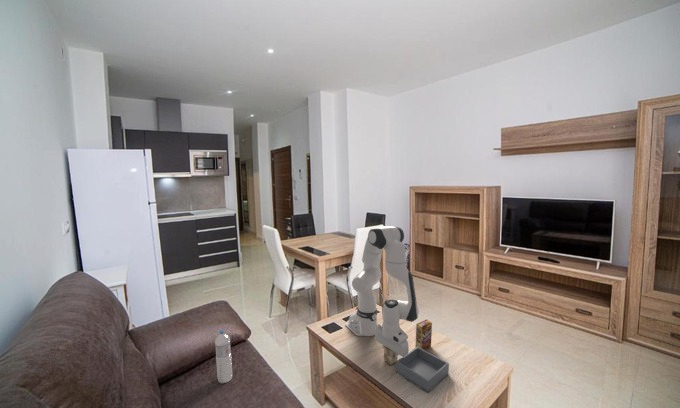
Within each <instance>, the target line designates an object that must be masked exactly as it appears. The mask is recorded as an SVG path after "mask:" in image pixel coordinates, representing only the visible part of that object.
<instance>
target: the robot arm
mask: <svg viewBox="0 0 680 408" xmlns="http://www.w3.org/2000/svg"><path fill="white" fill-rule="evenodd" d="M404 239H405V233H404V230H403V229H402V228H401V227H398V226H396V225H395V226H390V225H389V226H386V225H385V226H380V227H372V228H371V229H369V231H368V234H367V237H366V241H365V244H364V248H363V253H362V256H361V257H362V259H361V261H362V263H363V269H362V271H361V272H359V273H357V274H356V275H355V277H354V278H352V281H351V287H352V288H353V289H352V290H354V291H355V292H356V294H357V297H358V300H357V301H358V304H357V305H358V306H357V307H355V308H354V309H355V312H353V313H352V314H351V315H350V316H349V318H348V320H347V321H346V322H345V326H346V327H347V329H348V330H350V331H351V332H352V333H353V334H354V335H355V336H357V337H361V336H364V337H372V336H373V337H374V339H375V341H376V342H378V343H379V344H381V347H382V349H383V350H384V347H387V348H389V349H391V350H392V351H394V352H395V355H393V358H394V359H395V360H396V359H397V360H398V358H399V357H398V356H400V357H401V358H402V357H405V356H406V355H408V353H409V352H410V350H409V341H408V338H409V335H408V334H407V333H406V332H404V330H403V329H402V328H401V325H400V320H404V321H407V322H411V323H412V322H416V320H418V318H419V306H418V302H417V296H416V290H415V283H414V277H413V275H412V272H411V271H409V269H408V267H407V253H406V246H405V244H404V243H403V242H404ZM383 251H385V261H384V265H385V271H386V273H387V274H388V275H389V276H390V277H391V278H393V279H395V280H397V281H399V282H400V283H402V284H403V286H405V288H406V295H407V300H400V299H395V298H388V299H385V300H384V301H383V303H382V307H381V310H382V311H381V313H382V320H383V321H382V325H381V324H379V323H378V308H377V296H376V294H375V293H374V291H373V288H374V286H375V285H376V284H378V283H379V281H380V280H381V278H382V272H381V260H382V255H383Z"/></svg>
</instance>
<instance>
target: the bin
mask: <svg viewBox="0 0 680 408" xmlns="http://www.w3.org/2000/svg"><path fill="white" fill-rule="evenodd" d="M395 364H396V365H395V373H396V374H397V375H399V376H401V377H402V378H404V379H405V380H407V382H410V383H411V384H413V385H414V386H416V387H418V388H419V389H420V390H422V391H424V392H425V393H427V394H429V393H430V392H431V391H432V390H433V389H434V388H435V387H437V386H438V385H439V384H440V383H441V382H442V381H443V380H444V379H445V378H446V377H448V376H449V367H450V366H449V365H450V363H449V362H447V361H445V360H443V358H442V359H441V358H440V357H439V356H436V355H434V354H432V352H431V353H430V352H429V351H427V350H423V349H421V348H419V347H416V348H415V347H414V348H413V349H412V350H409V352H408V355H406V356H405V357H402V356H401V357H400V358H399V359H397V361H396V362H395Z"/></svg>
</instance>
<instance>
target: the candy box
mask: <svg viewBox="0 0 680 408" xmlns="http://www.w3.org/2000/svg"><path fill="white" fill-rule="evenodd" d="M415 327H416V328H415V347H414V348H416V347H419V348H421V349H423V350H425V351H427V350H428V349H430V348H431V347H432V335H433V334H432V333H433V331H432V330H433V322H432V321H431V320H429V319H424V320H422V321H420V322H418V323H416V324H415Z"/></svg>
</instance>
